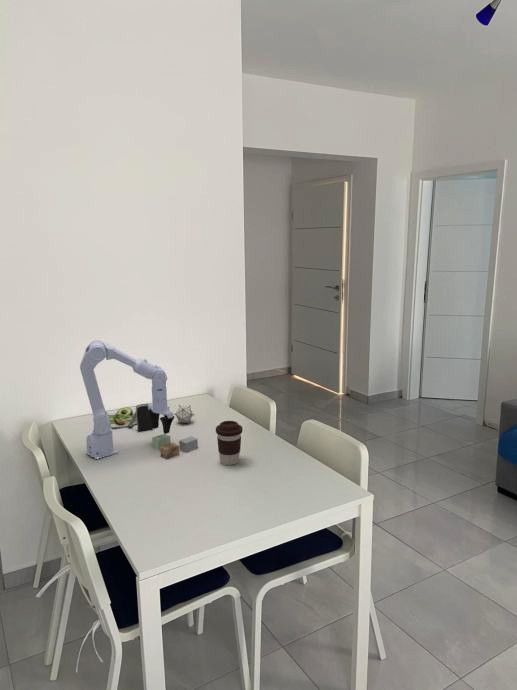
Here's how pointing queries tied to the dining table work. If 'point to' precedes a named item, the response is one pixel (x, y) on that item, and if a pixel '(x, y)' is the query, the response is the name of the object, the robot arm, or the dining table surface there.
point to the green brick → (160, 440)
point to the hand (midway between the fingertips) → (161, 430)
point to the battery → (143, 418)
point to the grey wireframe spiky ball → (184, 414)
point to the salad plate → (123, 418)
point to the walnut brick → (169, 450)
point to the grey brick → (188, 444)
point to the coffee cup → (229, 442)
